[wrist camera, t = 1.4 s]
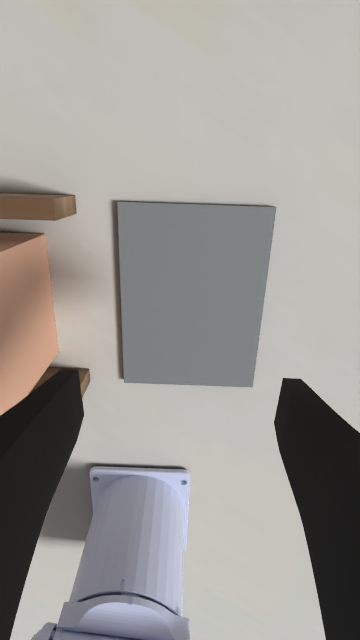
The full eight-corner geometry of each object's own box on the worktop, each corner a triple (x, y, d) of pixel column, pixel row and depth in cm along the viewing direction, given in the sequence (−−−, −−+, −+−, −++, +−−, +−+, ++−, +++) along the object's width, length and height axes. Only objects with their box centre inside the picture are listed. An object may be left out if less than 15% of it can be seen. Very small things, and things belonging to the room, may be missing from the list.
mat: (251, 384, 24) (252, 387, 24) (124, 379, 25) (123, 382, 24) (274, 206, 20) (276, 207, 20) (118, 201, 20) (117, 201, 20)
